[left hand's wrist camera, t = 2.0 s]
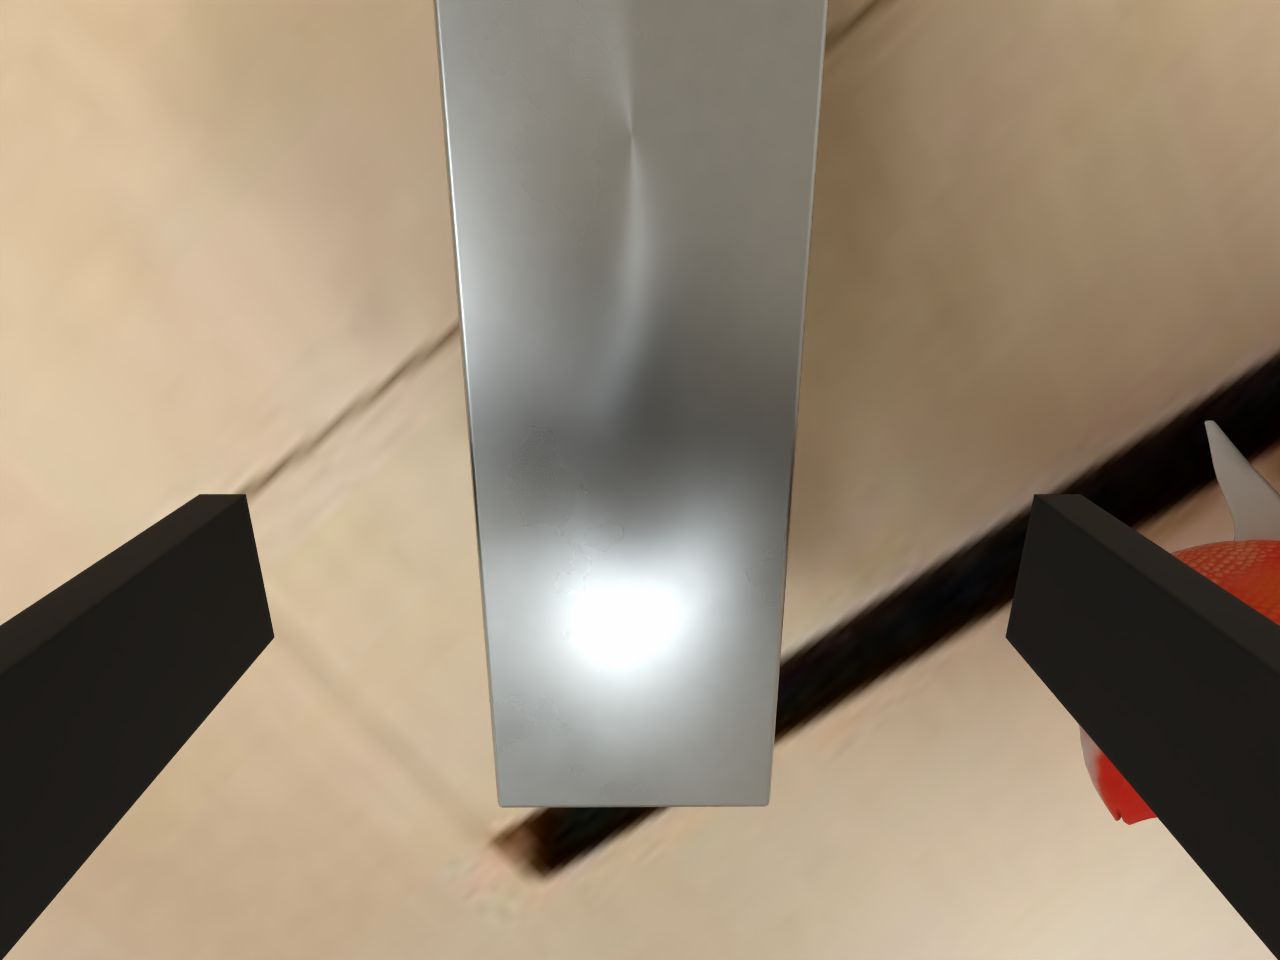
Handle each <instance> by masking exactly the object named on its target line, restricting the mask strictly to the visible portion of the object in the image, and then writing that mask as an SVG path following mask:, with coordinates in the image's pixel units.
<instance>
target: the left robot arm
mask: <svg viewBox="0 0 1280 960" xmlns="http://www.w3.org/2000/svg"><path fill="white" fill-rule="evenodd" d="M273 638H274V633H273V628H272V623H271V618H270V613H269V608H268V603H267V598H266V593H265V588H264V583H263V578H262V573H261V568H260V563H259V558H258V553H257V548H256V543H255V538H254V533H253V528H252V523H251V518H250V513H249V508H248V503H247V498H246V494H200V495H198V496H196V497H195V498H193V499H192V500H190V501H189V502H187V503H186V504H184V505H183V506H181V507H180V508H178V509H177V510H175V511H174V512H172V513H171V514H169V515H168V516H166V517H165V518H163V519H162V520H160V521H159V522H157V523H156V524H154V525H152V526H151V527H149V528H148V529H146V530H145V531H143V532H142V533H140V534H139V535H137V536H136V537H134V538H133V539H131V540H130V541H128V542H127V543H125V544H124V545H122V546H121V547H119V548H118V549H116V550H115V551H113V552H112V553H110V554H108V555H107V556H105V557H104V558H102V559H101V560H99V561H98V562H96V563H95V564H93V565H92V566H90V567H89V568H87V569H86V570H84V571H83V572H81V573H80V574H78V575H77V576H75V577H74V578H72V579H71V580H69V581H67V582H66V583H64V584H63V585H61V586H60V587H58V588H57V589H55V590H54V591H52V592H51V593H49V594H48V595H46V596H45V597H43V598H42V599H40V600H39V601H37V602H36V603H34V604H33V605H31V606H30V607H28V608H27V609H25V610H23V611H22V612H20V613H19V614H17V615H16V616H14V617H13V618H11V619H10V620H8V621H7V622H5V623H4V624H2V625H1V626H0V960H2V959H3V958H4V957H5V956H6V955H7V953H8V952H9V951H10V950H11V949H12V947H13V946H14V945H15V944H16V943H17V941H18V940H19V939H20V938H21V937H22V936H23V934H24V933H25V932H26V931H27V930H28V928H29V927H30V926H31V925H32V924H33V923H34V921H35V920H36V919H37V918H38V917H39V915H40V914H41V913H42V912H43V911H44V910H45V908H46V907H47V906H48V905H49V904H50V902H51V901H52V900H53V899H54V898H55V896H56V895H57V894H58V893H59V892H60V891H61V889H62V888H63V887H64V886H65V885H66V883H67V882H68V881H69V880H70V879H71V878H72V876H73V875H74V874H75V873H76V872H77V870H78V869H79V868H80V867H81V866H82V865H83V863H84V862H85V861H86V860H87V859H88V857H89V856H90V855H91V854H92V853H93V851H94V850H95V849H96V848H97V847H98V846H99V844H100V843H101V842H102V841H103V840H104V838H105V837H106V836H107V835H108V834H109V833H110V831H111V830H112V829H113V828H114V827H115V825H116V824H117V823H118V822H119V821H120V820H121V818H122V817H123V816H124V815H125V814H126V812H127V811H128V810H129V809H130V808H131V806H132V805H133V804H134V803H135V802H136V801H137V799H138V798H139V797H140V796H141V795H142V793H143V792H144V791H145V790H146V789H147V788H148V786H149V785H150V784H151V783H152V782H153V780H154V779H155V778H156V777H157V776H158V775H159V773H160V772H161V771H162V770H163V769H164V767H165V766H166V765H167V764H168V763H169V761H170V760H171V759H172V758H173V757H174V756H175V754H176V753H177V752H178V751H179V750H180V748H181V747H182V746H183V745H184V744H185V743H186V741H187V740H188V739H189V738H190V737H191V735H192V734H193V733H194V732H195V731H196V730H197V728H198V727H199V726H200V725H201V724H202V722H203V721H204V720H205V719H206V718H207V716H208V715H209V714H210V713H211V712H212V711H213V709H214V708H215V707H216V706H217V705H218V703H219V702H220V701H221V700H222V699H223V698H224V696H225V695H226V694H227V693H228V692H229V690H230V689H231V688H232V687H233V686H234V684H235V683H236V682H237V681H238V680H239V679H240V677H241V676H242V675H243V674H244V673H245V671H246V670H247V669H248V668H249V667H250V666H251V664H252V663H253V662H254V661H255V660H256V658H257V657H258V656H259V655H260V654H261V653H262V651H263V650H264V649H265V648H266V647H267V645H268V644H269V643H270V642H271V641H272V639H273ZM1006 638H1007V639H1008V641H1009V642H1010V643H1011V644H1012V645H1013V647H1014V648H1015V649H1016V650H1017V651H1018V653H1019V654H1020V655H1021V656H1022V657H1023V658H1024V660H1025V661H1026V662H1027V663H1028V664H1029V666H1030V667H1031V668H1032V669H1033V670H1034V671H1035V673H1036V674H1037V675H1038V676H1039V677H1040V679H1041V680H1042V681H1043V682H1044V683H1045V684H1046V686H1047V687H1048V688H1049V689H1050V690H1051V692H1052V693H1053V694H1054V695H1055V696H1056V698H1057V699H1058V700H1059V701H1060V702H1061V703H1062V705H1063V706H1064V707H1065V708H1066V709H1067V711H1068V712H1069V713H1070V714H1071V715H1072V716H1073V718H1074V719H1075V720H1076V721H1077V722H1078V724H1079V725H1080V726H1081V727H1082V728H1083V730H1084V731H1085V732H1086V733H1087V734H1088V735H1089V737H1090V738H1091V739H1092V740H1093V741H1094V743H1095V744H1096V745H1097V746H1098V747H1099V748H1100V750H1101V751H1102V752H1103V753H1104V754H1105V756H1106V757H1107V758H1108V759H1109V760H1110V761H1111V763H1112V764H1113V765H1114V766H1115V767H1116V769H1117V770H1118V771H1119V772H1120V773H1121V775H1122V776H1123V777H1124V778H1125V779H1126V780H1127V782H1128V783H1129V784H1130V785H1131V786H1132V788H1133V789H1134V790H1135V791H1136V792H1137V793H1138V795H1139V796H1140V797H1141V798H1142V799H1143V801H1144V802H1145V803H1146V804H1147V805H1148V806H1149V808H1150V809H1151V810H1152V811H1153V812H1154V814H1155V815H1156V816H1157V817H1158V818H1159V820H1160V821H1161V822H1162V823H1163V824H1164V825H1165V827H1166V828H1167V829H1168V830H1169V831H1170V833H1171V834H1172V835H1173V836H1174V837H1175V838H1176V840H1177V841H1178V842H1179V843H1180V844H1181V846H1182V847H1183V848H1184V849H1185V850H1186V851H1187V853H1188V854H1189V855H1190V856H1191V857H1192V859H1193V860H1194V861H1195V862H1196V863H1197V865H1198V866H1199V867H1200V868H1201V869H1202V870H1203V872H1204V873H1205V874H1206V875H1207V876H1208V878H1209V879H1210V880H1211V881H1212V882H1213V883H1214V885H1215V886H1216V887H1217V888H1218V889H1219V891H1220V892H1221V893H1222V894H1223V895H1224V896H1225V898H1226V899H1227V900H1228V901H1229V902H1230V904H1231V905H1232V906H1233V907H1234V908H1235V910H1236V911H1237V912H1238V913H1239V914H1240V915H1241V917H1242V918H1243V919H1244V920H1245V921H1246V923H1247V924H1248V925H1249V926H1250V927H1251V928H1252V930H1253V931H1254V932H1255V933H1256V934H1257V936H1258V937H1259V938H1260V939H1261V940H1262V942H1263V943H1264V944H1265V945H1266V946H1267V947H1268V949H1269V950H1270V951H1271V952H1272V953H1273V955H1274V956H1275V957H1276V958H1277V959H1278V960H1280V626H1279V625H1278V624H1276V623H1275V622H1273V621H1272V620H1270V619H1269V618H1267V617H1266V616H1264V615H1263V614H1261V613H1260V612H1258V611H1257V610H1255V609H1253V608H1252V607H1250V606H1249V605H1247V604H1246V603H1244V602H1243V601H1241V600H1240V599H1238V598H1237V597H1235V596H1234V595H1232V594H1231V593H1229V592H1228V591H1226V590H1225V589H1223V588H1222V587H1220V586H1219V585H1217V584H1216V583H1214V582H1213V581H1211V580H1209V579H1208V578H1206V577H1205V576H1203V575H1202V574H1200V573H1199V572H1197V571H1196V570H1194V569H1193V568H1191V567H1190V566H1188V565H1187V564H1185V563H1184V562H1182V561H1181V560H1179V559H1178V558H1176V557H1175V556H1173V555H1172V554H1170V553H1168V552H1167V551H1165V550H1164V549H1162V548H1161V547H1159V546H1158V545H1156V544H1155V543H1153V542H1152V541H1150V540H1149V539H1147V538H1146V537H1144V536H1143V535H1141V534H1140V533H1138V532H1137V531H1135V530H1134V529H1132V528H1131V527H1129V526H1128V525H1126V524H1124V523H1123V522H1121V521H1120V520H1118V519H1117V518H1115V517H1114V516H1112V515H1111V514H1109V513H1108V512H1106V511H1105V510H1103V509H1102V508H1100V507H1099V506H1097V505H1096V504H1094V503H1093V502H1091V501H1090V500H1088V499H1087V498H1085V497H1084V496H1082V495H1080V494H1034V498H1033V503H1032V508H1031V513H1030V518H1029V523H1028V528H1027V533H1026V538H1025V543H1024V548H1023V553H1022V558H1021V563H1020V568H1019V573H1018V578H1017V583H1016V588H1015V593H1014V598H1013V603H1012V608H1011V613H1010V618H1009V623H1008V628H1007V633H1006Z"/></svg>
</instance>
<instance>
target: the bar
mask: <svg viewBox="0 0 1280 960" xmlns="http://www.w3.org/2000/svg"><path fill="white" fill-rule="evenodd" d="M828 1H829V0H433V4H434V17H435V29H436V41H437V54H438V66H439V78H440V91H441V103H442V116H443V128H444V140H445V153H446V165H447V178H448V190H449V202H450V215H451V227H452V239H453V252H454V264H455V277H456V289H457V301H458V314H459V326H460V339H461V351H462V363H463V376H464V388H465V400H466V413H467V425H468V438H469V450H470V462H471V475H472V487H473V499H474V512H475V524H476V537H477V549H478V561H479V574H480V586H481V599H482V611H483V623H484V636H485V648H486V660H487V673H488V685H489V698H490V710H491V722H492V735H493V747H494V760H495V772H496V784H497V797H498V803H499V806H500V807H720V806H767V805H768V804H769V801H770V789H771V776H772V762H773V749H774V735H775V721H776V708H777V694H778V681H779V667H780V653H781V640H782V626H783V613H784V599H785V586H786V572H787V558H788V545H789V531H790V518H791V504H792V490H793V477H794V463H795V450H796V436H797V422H798V409H799V395H800V382H801V368H802V355H803V341H804V327H805V314H806V300H807V287H808V273H809V259H810V246H811V232H812V219H813V205H814V191H815V178H816V164H817V151H818V137H819V123H820V110H821V96H822V83H823V69H824V56H825V42H826V28H827V15H828Z"/></svg>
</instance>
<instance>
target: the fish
mask: <svg viewBox="0 0 1280 960" xmlns="http://www.w3.org/2000/svg"><path fill="white" fill-rule="evenodd" d="M1205 427H1206V431H1207V435H1208V440H1209V445H1210V450H1211V455H1212V460H1213V465H1214V469H1215V473H1216V476H1217V480H1218V482H1219V485H1220V488H1221V490H1222V493H1223V495H1224V497H1225V500H1226V502H1227V505H1228V507H1229V509H1230V513H1231V516H1232V519H1233V522H1234V530H1235V537H1234V541H1225V542H1218V543H1211V544H1205V545H1200V546H1196V547H1191V548H1187V549H1184V550H1180V551H1176V552H1173V553H1170V554H1172V555H1173V556H1175V557H1176V558H1178V559H1179V560H1181V561H1182V562H1184V563H1185V564H1187V565H1188V566H1190V567H1191V568H1193V569H1194V570H1196V571H1197V572H1199V573H1200V574H1202V575H1203V576H1205V577H1206V578H1208V579H1209V580H1211V581H1213V582H1214V583H1216V584H1217V585H1219V586H1220V587H1222V588H1223V589H1225V590H1226V591H1228V592H1229V593H1231V594H1232V595H1234V596H1235V597H1237V598H1238V599H1240V600H1241V601H1243V602H1244V603H1246V604H1247V605H1249V606H1250V607H1252V608H1253V609H1255V610H1257V611H1258V612H1260V613H1261V614H1263V615H1264V616H1266V617H1267V618H1269V619H1270V620H1272V621H1273V622H1275V623H1276V624H1278V625H1279V626H1280V494H1279V493H1278V492H1277V491H1276V490H1275V489H1274V488H1273V487H1272V486H1271V485H1270V484H1269V483H1268V482H1267V481H1266V480H1265V479H1264V478H1263V477H1262V476H1261V475H1260V474H1259V473H1258V472H1257V471H1256V470H1255V468H1254V467H1253V466H1252V465H1251V464H1250V463H1249V462H1248V461H1247V460H1246V459H1245V457H1244V456H1243V455H1242V454H1241V453H1240V452H1239V451H1238V449H1237V448H1236V447H1235V446H1234V445H1233V443H1232V442H1231V441H1230V440H1229V439H1228V437H1227V436H1226V435H1225V434H1224V432H1223V431H1222V430H1221V429H1220V427H1219V426H1218V425H1217V424H1216V423H1215V422H1214V421H1205ZM1079 726H1080V725H1079ZM1080 737H1081V744H1082V749H1083V754H1084V759H1085V764H1086V767H1087V770H1088V772H1089V775H1090V777H1091V780H1092V782H1093V785H1094V786H1095V788H1096V790H1097V792H1098V794H1099V795H1100V797H1101V799H1102V800H1103V802H1104V804H1105V805H1106V807H1107V808H1108V810H1109V811H1110V813H1111V814H1112V816H1113V817H1114V818H1115V820H1116V821H1118V820H1120V818H1121V817H1122V819H1123V821H1124V822H1125V823H1127V824H1129V825H1130V824H1134V823H1136V822H1139V821H1142V820H1146V819H1150V818H1156V817H1157V816H1156V815H1155V814H1154V812H1153V811H1152V810H1151V809H1150V808H1149V806H1148V805H1147V804H1146V803H1145V802H1144V801H1143V799H1142V798H1141V797H1140V796H1139V795H1138V793H1137V792H1136V791H1135V790H1134V789H1133V788H1132V786H1131V785H1130V784H1129V783H1128V782H1127V780H1126V779H1125V778H1124V777H1123V776H1122V775H1121V773H1120V772H1119V771H1118V770H1117V769H1116V767H1115V766H1114V765H1113V764H1112V763H1111V761H1110V760H1109V759H1108V758H1107V757H1106V756H1105V754H1104V753H1103V752H1102V751H1101V750H1100V748H1099V747H1098V746H1097V745H1096V744H1095V743H1094V741H1093V740H1092V739H1091V738H1090V737H1089V735H1088V734H1087V733H1086V732H1085V731H1084V730H1083V728H1082V727H1081V726H1080Z"/></svg>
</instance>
